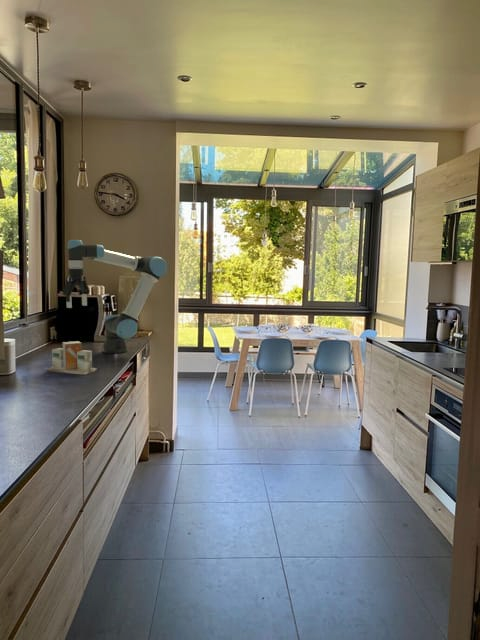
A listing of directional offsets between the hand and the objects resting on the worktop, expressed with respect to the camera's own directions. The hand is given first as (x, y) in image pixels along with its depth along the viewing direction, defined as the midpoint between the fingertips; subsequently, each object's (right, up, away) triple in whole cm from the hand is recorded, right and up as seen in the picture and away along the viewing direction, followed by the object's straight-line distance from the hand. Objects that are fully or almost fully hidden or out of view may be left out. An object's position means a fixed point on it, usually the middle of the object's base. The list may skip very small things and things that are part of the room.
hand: (77, 306), depth 246 cm
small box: (+5, -32, -21) cm, 38 cm away
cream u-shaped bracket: (+5, -33, -21) cm, 40 cm away
